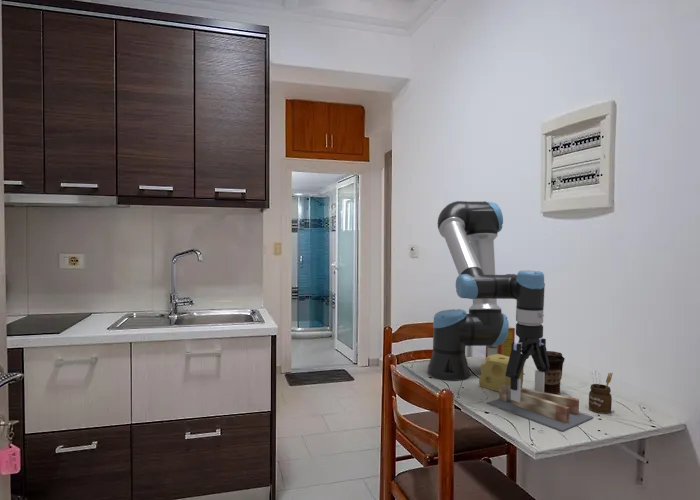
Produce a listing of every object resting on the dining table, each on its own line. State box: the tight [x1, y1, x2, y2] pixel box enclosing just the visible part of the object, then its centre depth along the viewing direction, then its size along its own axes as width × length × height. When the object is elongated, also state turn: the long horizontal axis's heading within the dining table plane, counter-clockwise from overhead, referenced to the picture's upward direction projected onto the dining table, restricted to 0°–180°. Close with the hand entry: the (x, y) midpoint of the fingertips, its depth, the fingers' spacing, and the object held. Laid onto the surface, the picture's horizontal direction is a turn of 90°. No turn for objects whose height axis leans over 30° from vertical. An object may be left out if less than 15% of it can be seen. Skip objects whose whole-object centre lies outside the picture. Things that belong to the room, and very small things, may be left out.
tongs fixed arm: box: [498, 385, 570, 423], centre depth 133 cm, size 22×3×4 cm, turn 36°
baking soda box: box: [485, 326, 516, 358], centre depth 181 cm, size 10×6×16 cm
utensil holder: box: [588, 370, 614, 414], centre depth 135 cm, size 6×6×12 cm
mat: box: [486, 398, 594, 433], centre depth 134 cm, size 24×16×1 cm, turn 36°
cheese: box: [478, 354, 524, 393], centre depth 154 cm, size 10×11×10 cm
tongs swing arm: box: [521, 387, 580, 415], centre depth 135 cm, size 17×2×4 cm, turn 56°
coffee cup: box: [544, 350, 566, 395], centre depth 150 cm, size 9×8×13 cm
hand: (527, 396), depth 135 cm, fingers open, 11 cm apart
